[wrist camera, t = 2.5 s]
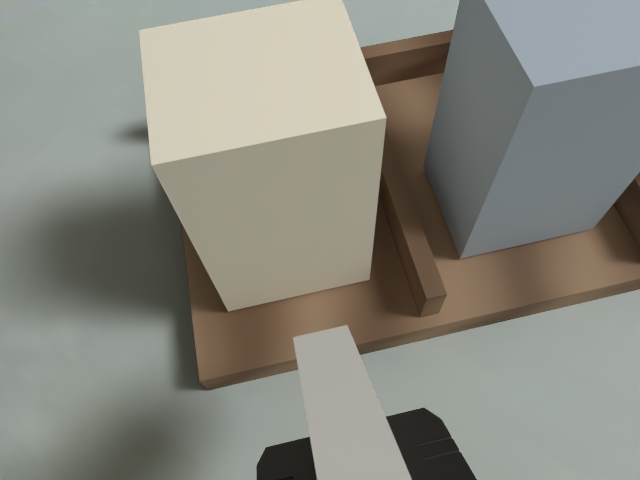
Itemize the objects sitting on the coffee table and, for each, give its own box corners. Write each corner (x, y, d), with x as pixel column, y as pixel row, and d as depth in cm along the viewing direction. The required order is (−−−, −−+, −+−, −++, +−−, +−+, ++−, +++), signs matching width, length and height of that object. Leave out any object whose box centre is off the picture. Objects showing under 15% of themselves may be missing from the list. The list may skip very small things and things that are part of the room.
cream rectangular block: (228, 311, 22) (151, 165, 13) (212, 211, 24) (139, 30, 15) (369, 279, 22) (386, 117, 14) (340, 184, 25) (339, -7, 16)
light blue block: (460, 258, 23) (534, 86, 14) (423, 166, 25) (466, -31, 16) (592, 228, 23) (745, 44, 14) (544, 140, 25) (650, -65, 17)
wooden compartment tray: (208, 390, 22) (186, 367, 19) (176, 134, 29) (156, 86, 26) (840, 241, 24) (912, 200, 21) (675, 35, 31) (711, -20, 28)
